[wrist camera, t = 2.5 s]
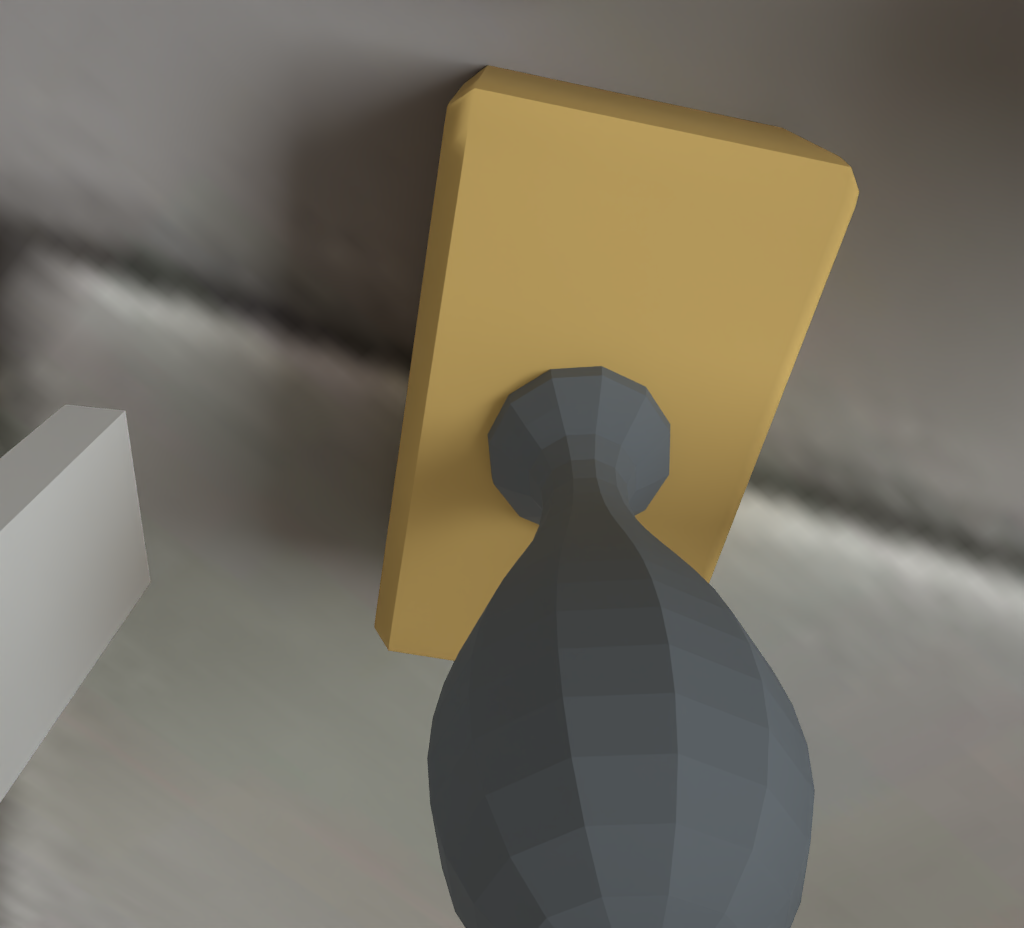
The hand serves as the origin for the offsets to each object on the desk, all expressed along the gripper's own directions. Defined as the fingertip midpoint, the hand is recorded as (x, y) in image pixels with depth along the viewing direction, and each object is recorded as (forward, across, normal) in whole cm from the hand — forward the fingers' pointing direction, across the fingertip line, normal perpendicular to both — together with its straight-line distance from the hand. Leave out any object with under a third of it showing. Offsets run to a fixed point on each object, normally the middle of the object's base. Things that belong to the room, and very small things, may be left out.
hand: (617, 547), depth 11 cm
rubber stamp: (+6, 0, 0) cm, 6 cm away
